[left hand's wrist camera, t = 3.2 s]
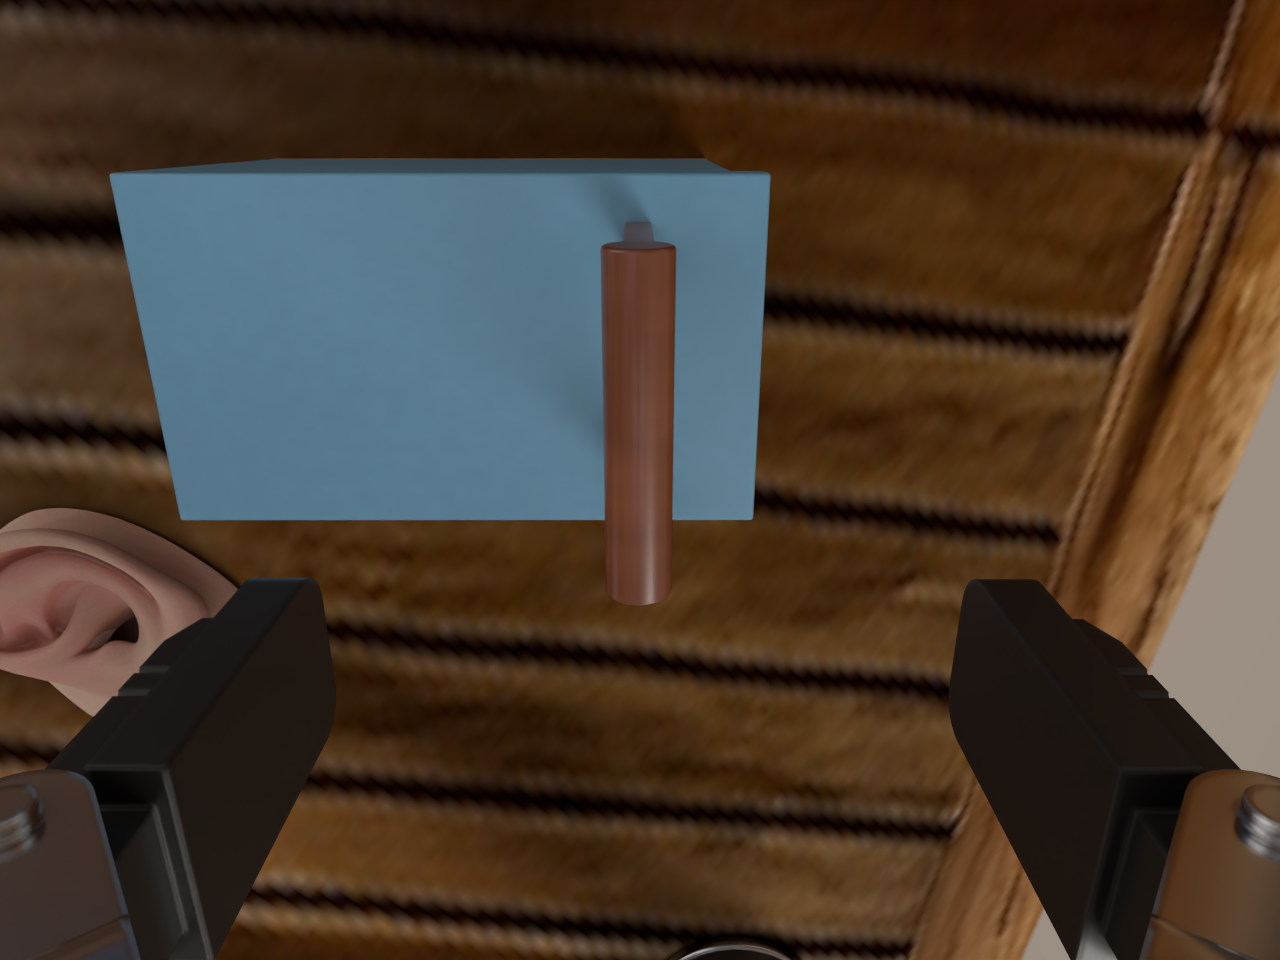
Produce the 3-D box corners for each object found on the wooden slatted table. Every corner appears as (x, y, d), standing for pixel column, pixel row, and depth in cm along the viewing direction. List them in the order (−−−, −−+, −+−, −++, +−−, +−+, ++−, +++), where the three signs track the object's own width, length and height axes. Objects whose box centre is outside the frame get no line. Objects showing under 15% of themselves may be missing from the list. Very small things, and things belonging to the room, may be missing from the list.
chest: (705, 158, 34) (733, 170, 24) (699, 405, 38) (721, 505, 28) (279, 157, 34) (131, 170, 24) (314, 405, 38) (198, 505, 28)
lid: (765, 171, 24) (823, 190, 16) (748, 505, 28) (790, 648, 20) (130, 171, 24) (-104, 190, 16) (197, 506, 28) (30, 648, 20)
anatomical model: (280, 747, 39) (65, 829, 41) (312, 693, 43) (113, 771, 44) (97, 490, 35) (-136, 594, 36) (150, 455, 38) (-64, 551, 40)
